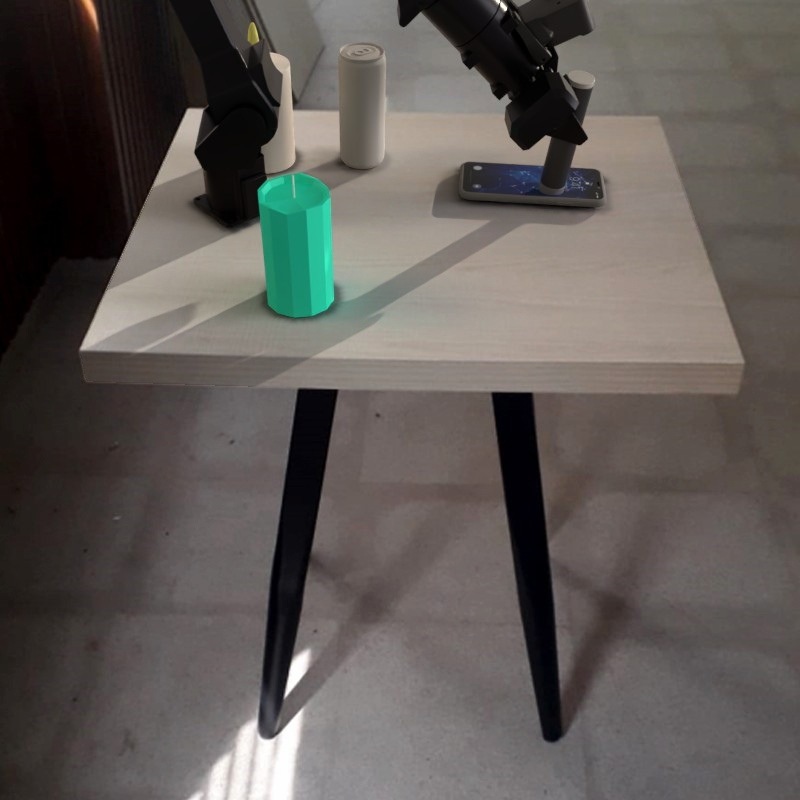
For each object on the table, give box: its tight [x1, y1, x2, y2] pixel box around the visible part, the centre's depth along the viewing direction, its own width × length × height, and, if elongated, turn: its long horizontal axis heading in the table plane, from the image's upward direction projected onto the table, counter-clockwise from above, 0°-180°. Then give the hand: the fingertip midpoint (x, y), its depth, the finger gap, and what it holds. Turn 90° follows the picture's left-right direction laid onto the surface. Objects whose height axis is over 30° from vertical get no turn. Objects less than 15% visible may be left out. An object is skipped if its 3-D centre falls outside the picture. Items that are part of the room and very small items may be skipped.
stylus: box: [538, 69, 596, 195], centre depth 93 cm, size 3×3×13 cm
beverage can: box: [337, 41, 387, 170], centre depth 99 cm, size 5×5×12 cm
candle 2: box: [258, 172, 335, 318], centre depth 80 cm, size 6×6×12 cm
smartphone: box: [458, 161, 608, 208], centre depth 99 cm, size 7×1×15 cm
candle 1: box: [247, 22, 296, 175], centre depth 98 cm, size 6×6×15 cm
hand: (581, 134), depth 93 cm, fingers closed on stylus, 3 cm apart
